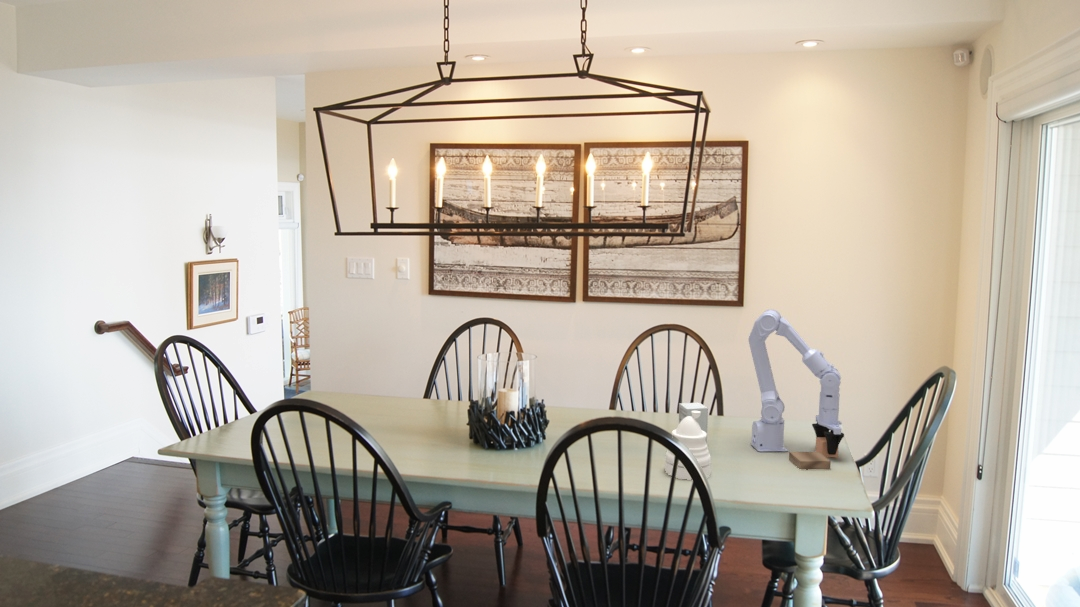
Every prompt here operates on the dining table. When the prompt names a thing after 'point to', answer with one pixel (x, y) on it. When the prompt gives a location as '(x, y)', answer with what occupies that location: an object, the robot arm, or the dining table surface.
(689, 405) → the supplement box
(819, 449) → the terracotta block
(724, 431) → the dining table surface
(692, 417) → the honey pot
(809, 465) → the walnut base block
